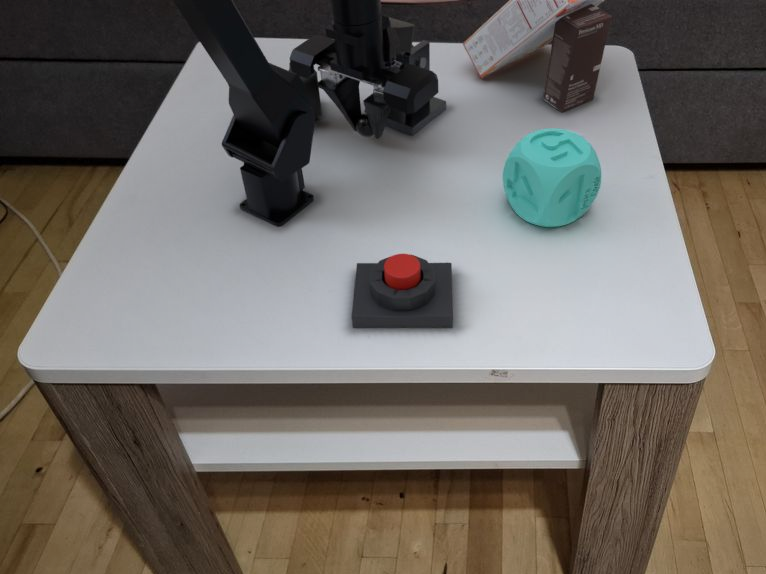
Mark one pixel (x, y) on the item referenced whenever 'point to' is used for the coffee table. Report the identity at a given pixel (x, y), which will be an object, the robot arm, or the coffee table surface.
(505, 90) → the coffee table surface
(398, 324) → the control block
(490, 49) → the cracker box
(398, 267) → the button
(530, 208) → the decorative dice
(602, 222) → the coffee table surface
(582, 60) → the box
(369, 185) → the coffee table surface
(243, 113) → the robot arm
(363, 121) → the lever
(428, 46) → the bracket
